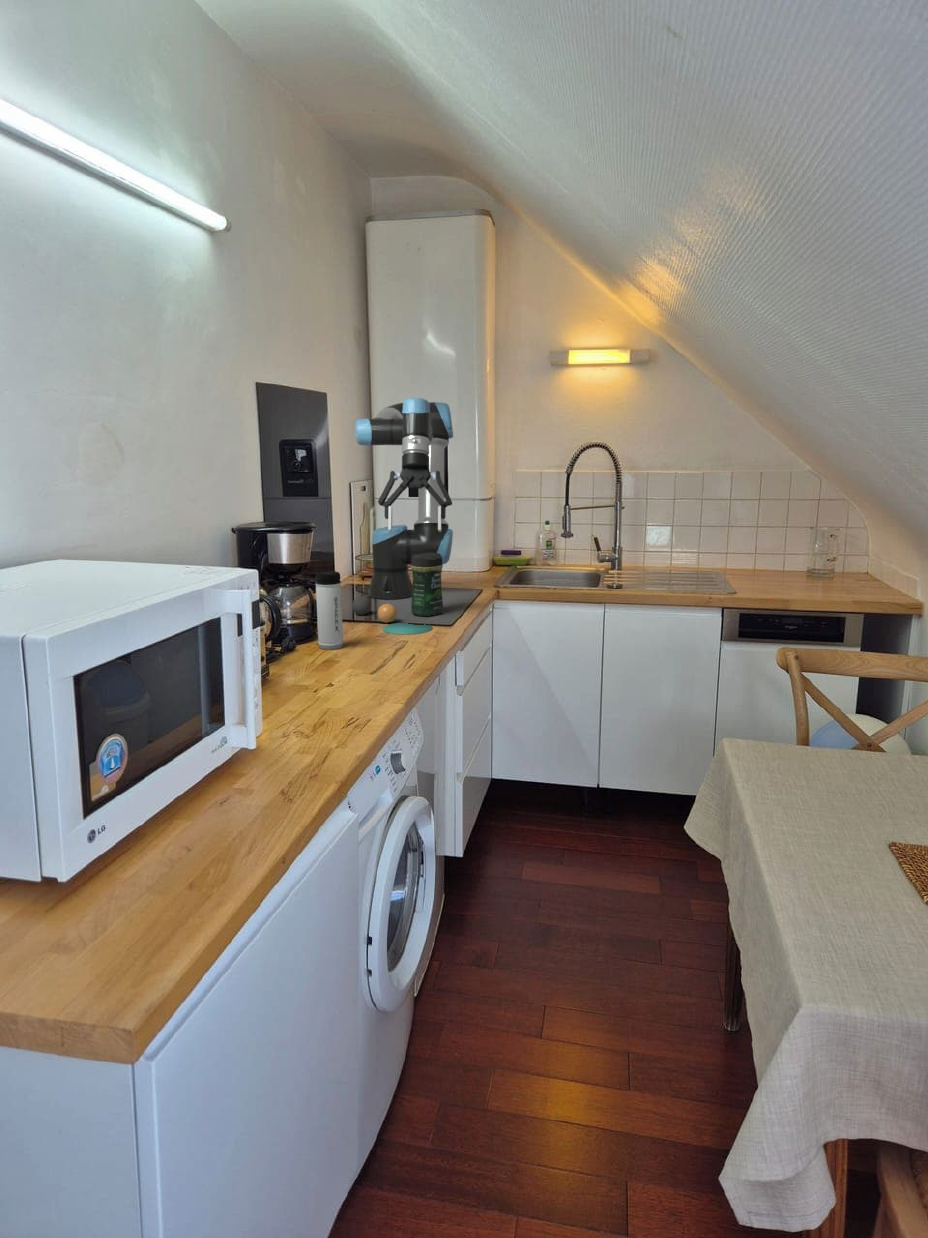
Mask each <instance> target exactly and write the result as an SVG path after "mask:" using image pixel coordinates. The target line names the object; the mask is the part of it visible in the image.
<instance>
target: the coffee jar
mask: <svg viewBox="0 0 928 1238" xmlns="http://www.w3.org/2000/svg"><path fill="white" fill-rule="evenodd" d="M443 566H444V564H443V562H442V556H441V555H440V554H438V553H423V554H418V555H414V556H413V557H412V560H411V564H410V567H411V568H410V569H411V572H412V586H413V588H412V596H411V608H410V609H411V612H410V613H411V614H412V615H414V614H415V615H414V616H416V615H419V616H418V617H424V616H425V617H431V615H433V616H436V615H440V614H442V613H443V612H444V604H443V603H444V602H443V601H444V600H443V591H442V590H443V589H442V573H443V572H442V571H443Z"/></svg>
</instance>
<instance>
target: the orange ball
mask: <svg viewBox="0 0 928 1238" xmlns="http://www.w3.org/2000/svg"><path fill="white" fill-rule="evenodd" d="M397 614H398V611H397V608H396V607H395V606H394V605H393V604H391V603H384V604H382V605H380V606H379V608H378V610H377V617H378V619H379V620H380V622H382V623H386V624H389V622H390V623H392V622H394V621H395V620H396V618H397Z"/></svg>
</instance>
